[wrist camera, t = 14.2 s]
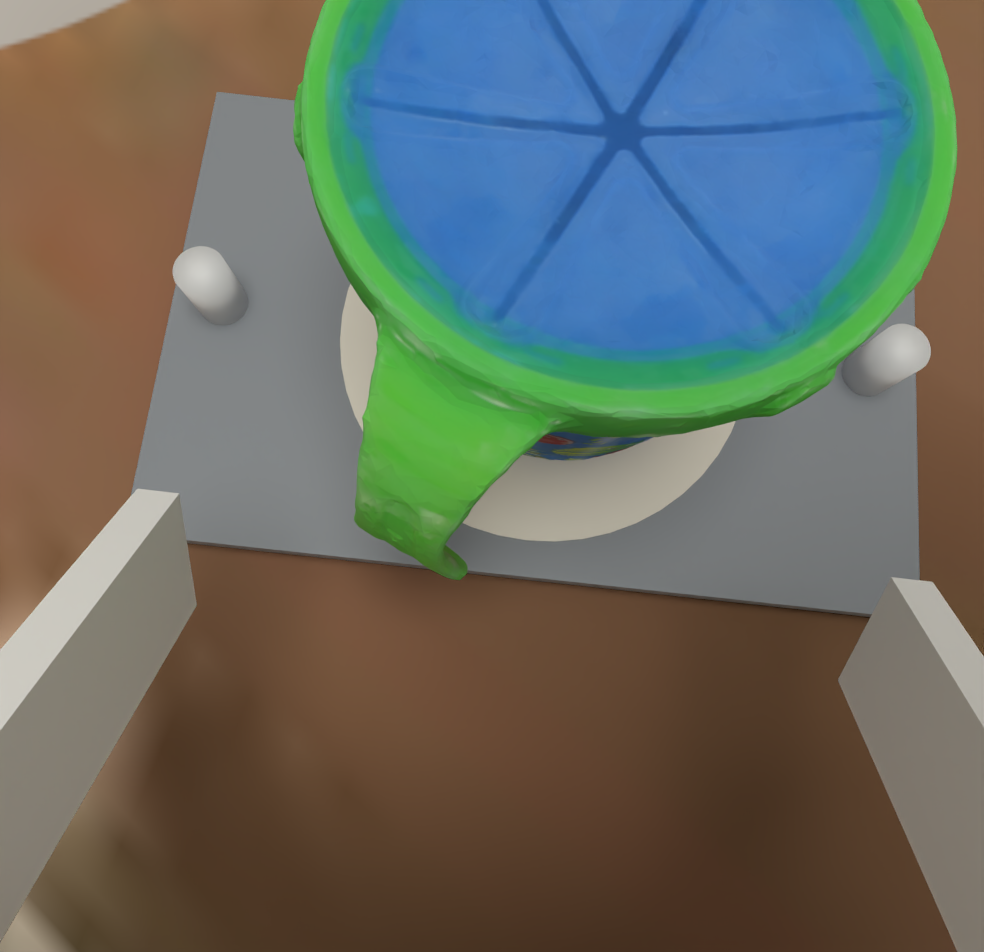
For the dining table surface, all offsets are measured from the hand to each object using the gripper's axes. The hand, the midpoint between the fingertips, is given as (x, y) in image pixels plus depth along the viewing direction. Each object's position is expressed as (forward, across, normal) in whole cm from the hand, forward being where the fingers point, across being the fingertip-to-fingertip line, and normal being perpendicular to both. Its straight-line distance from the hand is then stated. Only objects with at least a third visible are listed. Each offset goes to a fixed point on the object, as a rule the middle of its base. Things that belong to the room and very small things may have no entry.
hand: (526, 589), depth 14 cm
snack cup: (+10, +1, +1) cm, 10 cm away
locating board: (+10, 0, 0) cm, 11 cm away
